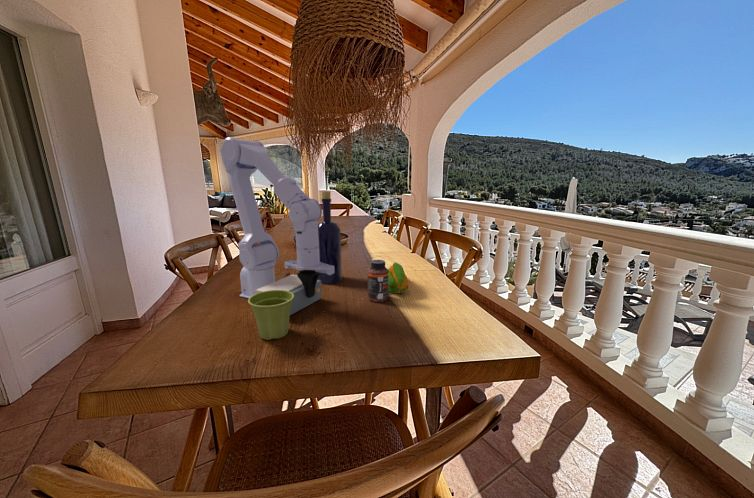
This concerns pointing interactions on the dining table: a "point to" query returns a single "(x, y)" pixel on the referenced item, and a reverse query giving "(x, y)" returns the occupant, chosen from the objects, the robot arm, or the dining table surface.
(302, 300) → the door
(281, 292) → the plant pot
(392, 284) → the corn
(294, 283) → the cabinet
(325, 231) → the bottle
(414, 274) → the dining table surface
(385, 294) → the supplement bottle
